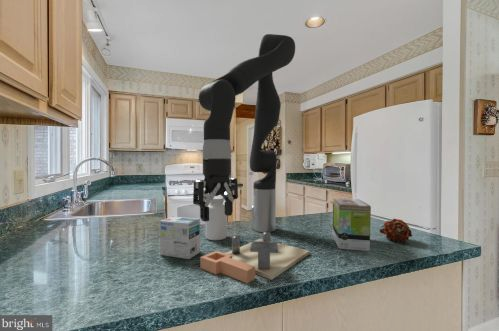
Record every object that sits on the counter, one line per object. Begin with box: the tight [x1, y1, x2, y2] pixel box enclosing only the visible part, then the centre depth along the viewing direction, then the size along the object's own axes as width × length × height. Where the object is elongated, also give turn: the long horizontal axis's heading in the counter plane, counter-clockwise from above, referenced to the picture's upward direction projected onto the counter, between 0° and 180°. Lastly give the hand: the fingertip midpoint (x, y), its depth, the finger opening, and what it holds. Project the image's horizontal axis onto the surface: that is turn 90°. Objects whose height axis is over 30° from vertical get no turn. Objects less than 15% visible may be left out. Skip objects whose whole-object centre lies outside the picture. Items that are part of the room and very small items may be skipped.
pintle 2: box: [262, 232, 272, 242], centre depth 77 cm, size 2×2×5 cm
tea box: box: [332, 198, 372, 252], centre depth 85 cm, size 15×10×15 cm, turn 168°
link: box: [199, 250, 256, 284], centre depth 63 cm, size 15×6×3 cm, turn 51°
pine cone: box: [379, 218, 413, 244], centre depth 88 cm, size 8×8×12 cm
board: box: [224, 238, 311, 281], centre depth 73 cm, size 19×21×1 cm
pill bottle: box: [205, 196, 228, 241], centre depth 91 cm, size 8×8×15 cm
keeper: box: [250, 240, 279, 270], centre depth 65 cm, size 5×7×5 cm
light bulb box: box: [159, 216, 202, 260], centre depth 76 cm, size 11×7×11 cm, turn 71°
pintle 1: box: [231, 234, 241, 255], centre depth 73 cm, size 2×2×5 cm
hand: (217, 218), depth 65 cm, fingers open, 8 cm apart
